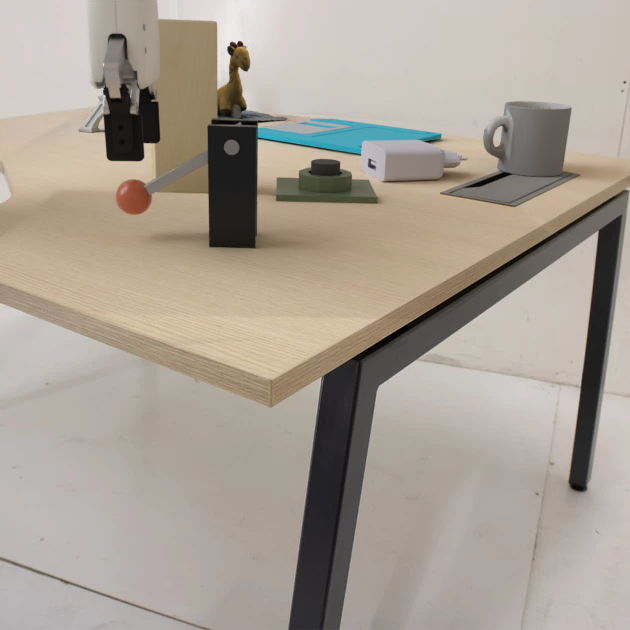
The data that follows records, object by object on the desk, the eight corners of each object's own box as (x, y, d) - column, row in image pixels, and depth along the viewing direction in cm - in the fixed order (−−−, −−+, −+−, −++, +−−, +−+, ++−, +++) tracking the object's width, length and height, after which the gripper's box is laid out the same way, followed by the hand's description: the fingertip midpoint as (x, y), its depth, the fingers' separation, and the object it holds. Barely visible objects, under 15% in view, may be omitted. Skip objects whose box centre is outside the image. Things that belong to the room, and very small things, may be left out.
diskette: (365, 155, 132) (366, 149, 131) (239, 135, 147) (239, 129, 147) (442, 138, 151) (442, 133, 151) (323, 122, 167) (324, 117, 166)
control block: (275, 212, 95) (276, 179, 93) (276, 193, 104) (276, 163, 102) (376, 215, 95) (378, 182, 94) (367, 196, 104) (369, 165, 103)
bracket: (166, 267, 74) (161, 127, 69) (178, 240, 82) (174, 114, 78) (295, 269, 75) (298, 131, 70) (294, 242, 83) (297, 117, 78)
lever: (125, 225, 75) (105, 194, 74) (131, 216, 79) (112, 186, 77) (254, 154, 73) (236, 121, 72) (256, 147, 77) (238, 116, 75)
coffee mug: (548, 164, 130) (557, 101, 127) (572, 177, 121) (582, 109, 118) (469, 163, 129) (475, 99, 126) (486, 175, 120) (494, 107, 116)
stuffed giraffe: (226, 124, 159) (227, 39, 154) (177, 116, 171) (175, 38, 166) (287, 121, 169) (290, 42, 164) (236, 114, 182) (237, 40, 177)
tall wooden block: (211, 183, 109) (209, 19, 101) (219, 195, 102) (217, 21, 94) (151, 184, 107) (144, 17, 99) (156, 197, 100) (149, 19, 92)
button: (311, 178, 96) (311, 163, 96) (310, 172, 100) (310, 158, 99) (340, 179, 97) (341, 164, 96) (338, 173, 100) (339, 159, 99)
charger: (477, 180, 117) (383, 183, 112) (448, 168, 125) (359, 170, 120) (481, 147, 115) (385, 150, 111) (451, 137, 123) (361, 139, 119)
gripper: (100, -45, 76) (113, 136, 82) (51, -59, 60) (72, 168, 66) (179, -43, 76) (186, 137, 83) (151, -56, 60) (162, 169, 67)
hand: (135, 151), depth 74 cm, fingers open, 9 cm apart
